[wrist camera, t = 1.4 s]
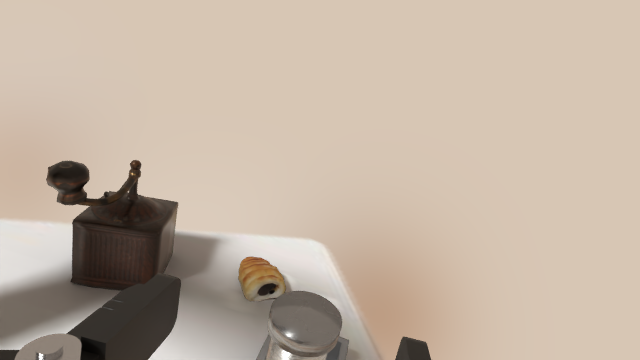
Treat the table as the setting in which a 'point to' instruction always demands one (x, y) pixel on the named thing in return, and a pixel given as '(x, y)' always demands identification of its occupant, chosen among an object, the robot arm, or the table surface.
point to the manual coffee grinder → (115, 230)
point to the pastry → (260, 279)
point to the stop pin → (302, 327)
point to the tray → (335, 356)
